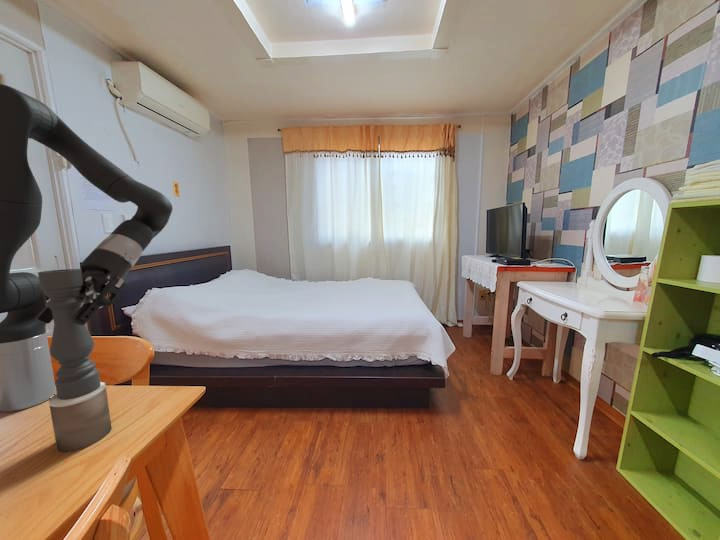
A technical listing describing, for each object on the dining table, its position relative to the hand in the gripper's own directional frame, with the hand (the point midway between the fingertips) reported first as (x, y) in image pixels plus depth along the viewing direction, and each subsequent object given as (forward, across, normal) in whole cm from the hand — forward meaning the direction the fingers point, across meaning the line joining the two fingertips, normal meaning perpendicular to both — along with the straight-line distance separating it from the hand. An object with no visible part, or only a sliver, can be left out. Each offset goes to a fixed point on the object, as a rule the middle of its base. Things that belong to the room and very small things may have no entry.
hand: (59, 322), depth 52 cm
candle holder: (+10, 0, +12) cm, 15 cm away
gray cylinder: (+17, 0, +19) cm, 25 cm away
